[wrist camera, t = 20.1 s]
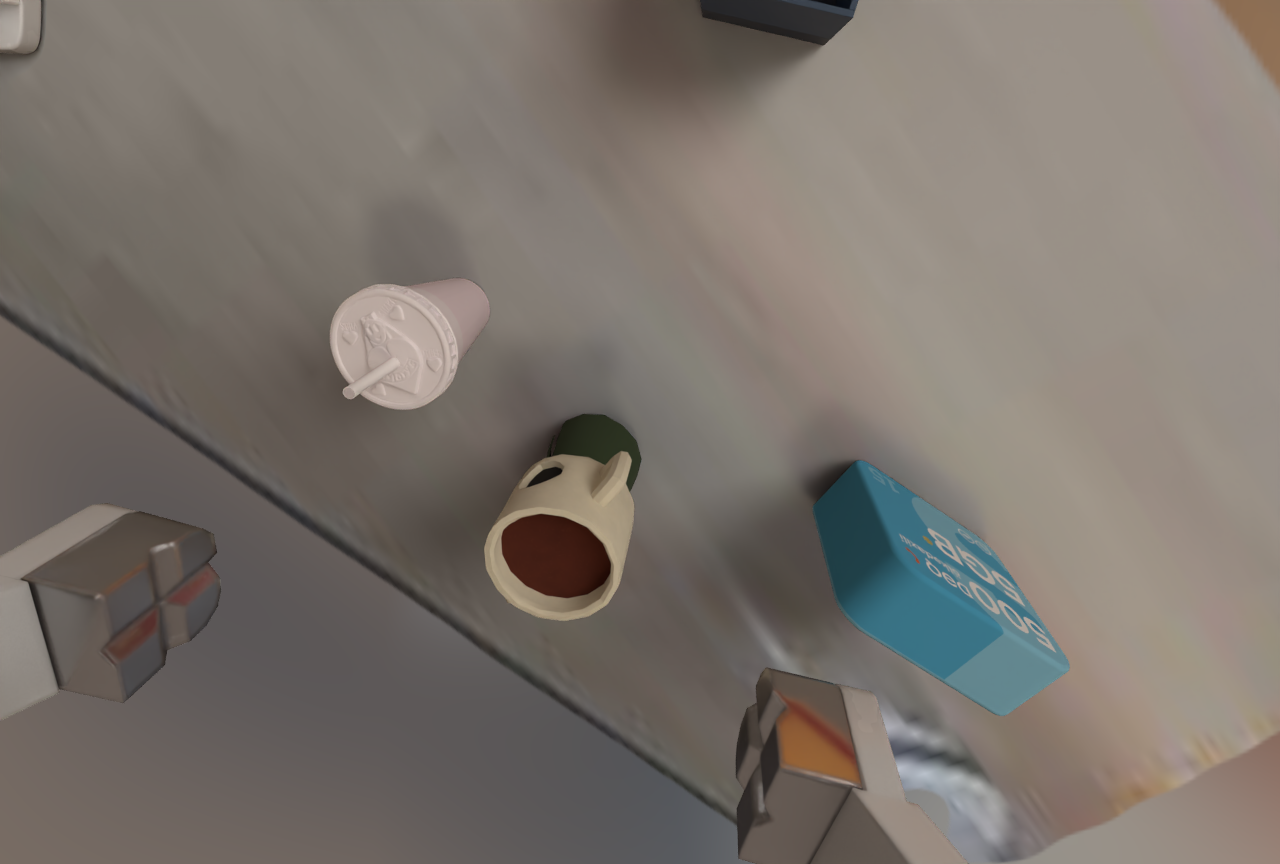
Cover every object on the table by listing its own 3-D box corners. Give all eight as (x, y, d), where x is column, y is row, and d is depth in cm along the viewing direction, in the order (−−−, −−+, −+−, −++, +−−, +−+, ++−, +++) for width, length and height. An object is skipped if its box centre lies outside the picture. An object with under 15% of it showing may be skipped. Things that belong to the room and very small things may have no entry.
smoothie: (447, 369, 42) (329, 466, 29) (394, 281, 39) (241, 344, 27) (528, 332, 40) (440, 418, 27) (477, 237, 38) (355, 283, 25)
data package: (990, 543, 42) (1084, 680, 31) (942, 586, 44) (1014, 728, 33) (852, 450, 41) (900, 561, 30) (807, 498, 42) (837, 619, 32)
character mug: (602, 362, 40) (554, 451, 28) (687, 428, 41) (674, 539, 30) (513, 474, 44) (439, 591, 33) (592, 530, 46) (548, 663, 34)
